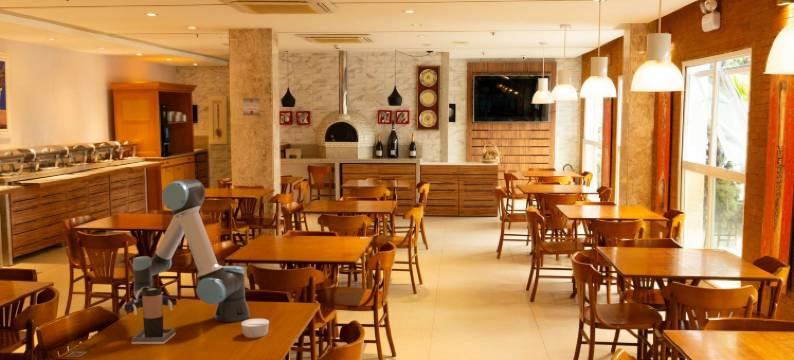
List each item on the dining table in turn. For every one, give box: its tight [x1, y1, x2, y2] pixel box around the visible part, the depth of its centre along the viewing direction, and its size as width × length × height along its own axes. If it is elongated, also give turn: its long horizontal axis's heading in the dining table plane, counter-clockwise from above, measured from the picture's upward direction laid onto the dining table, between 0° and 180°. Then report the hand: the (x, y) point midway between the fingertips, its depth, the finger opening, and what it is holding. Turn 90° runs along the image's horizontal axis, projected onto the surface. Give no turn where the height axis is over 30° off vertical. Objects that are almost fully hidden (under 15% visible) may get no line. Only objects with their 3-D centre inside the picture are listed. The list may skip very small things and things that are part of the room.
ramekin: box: [240, 318, 270, 339], centre depth 297 cm, size 11×11×5 cm
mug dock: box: [130, 328, 177, 345], centre depth 294 cm, size 13×13×2 cm
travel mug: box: [142, 285, 164, 337], centre depth 293 cm, size 8×8×20 cm
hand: (153, 309), depth 290 cm, fingers open, 13 cm apart
